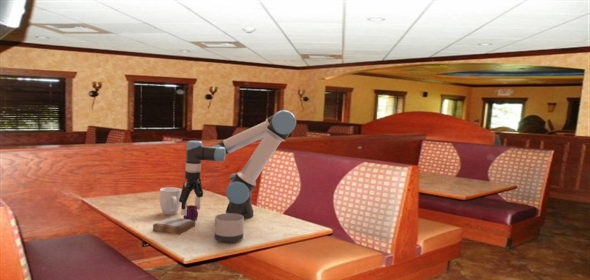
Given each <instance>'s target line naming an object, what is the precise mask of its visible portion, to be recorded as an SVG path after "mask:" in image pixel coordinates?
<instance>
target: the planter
mask: <svg viewBox="0 0 590 280" xmlns="http://www.w3.org/2000/svg"><path fill="white" fill-rule="evenodd" d="M244 224H245V219H244V216H242V215H239V214H232V213H226V212H225V213H219V214H216V215H215V216H214V232H213V233H214V235H213V237H214V239H215V240H217V241H219V242H222V243H226V244H232V243H236V242H239V241H241V240H243V238H244Z"/></svg>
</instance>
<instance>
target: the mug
mask: <svg viewBox="0 0 590 280" xmlns="http://www.w3.org/2000/svg"><path fill="white" fill-rule="evenodd" d="M159 189H160V190H159V205H160V209H161V211H162V213H163V214H165V215H169V216H170V215H176V214H177V213H178V211H179V209H180V206H181V202H179V199H180V195H181V192H182V188H179V187H173V186H172V187H170V186H169V187H162V188H159Z"/></svg>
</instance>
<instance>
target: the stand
mask: <svg viewBox="0 0 590 280" xmlns="http://www.w3.org/2000/svg"><path fill="white" fill-rule="evenodd" d="M193 227H194V228H195V227H196V221H193V220H189V219H184V218H180V217H174V216H173V217H172V216H170V217H167V218H165V219H162V220H161V221H158V222H156V223H153V224H152V232H158V233H159V232H160V233H165V234H171V235H178V236H179V235H183V234H184V233H186V232H188V231H190V230H191V228H192V229H193ZM189 229H190V230H189Z"/></svg>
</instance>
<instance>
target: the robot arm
mask: <svg viewBox="0 0 590 280" xmlns="http://www.w3.org/2000/svg"><path fill="white" fill-rule="evenodd" d="M296 126H297V119H296V116H295V114H294V113H293V112H291V111H289V110H287V109H281V110H279V111H277V112H276V113H274V114H273V115H271V116H269V117H268V118H266V119H265V120H264V121H263V122H261V123H259V124H257V125H254V126H252V127H250V128H248V129H245V130H243V131H241V132H238V133H236V134H235V135H232V136H230V137H228V138H225V139H223V140H222V141H219V142H216V143H214V144H213V145H203V142H202V141H200V140H189V141H187V143H186V149H185V151H186V153H185V154H186V156H185V173H184V179H186V181H187V182H186V181H183V183H182V188H181V195H180V199H179V202H180V206H181V208H180V209H181V210H180V215H181V216H184V215H185V216H186V215H187V206H188V200H189V197H190V194H191V192H192V191H193V192H194V193H195V198H194V199H195V200H194V206H197V211H199V210H201V198H203V196H204V191H203V187H202V179H201V171H202V170H201V169H202V161H208V162H209V161H210V162H219V163H220V162H224V161H225V160H226V155H229V154H230V153H233V152H235V151H238V150H239V149H241V148H243V147H246V146H248V145H251V144H253V143H254V142H256V141H257V142H258V141H259V140H261V141H260V142H259V144H258V145H257V146H256V148H255V150H254V151H253V153H252V154H251V156H250V158H249V159H248V160H247V162H246V163H245V165H244V167H243V168H242V169H241V171H238V172H236V173H231V174H230V177H229V180H230V181H229V184H228V185H227V187H226V190H225V196H226V198H227V200H228V204H227V207H226V210H225V213H232V214H239V215H242V216H244V220H245V219H250V218H253V217H254V209H253V204H252V202H251V201H252V192H253V191H254V189H255V187H256V186H257V182H256V180H257V179H258V178H259V176H260V174H261V173H262V171H263V169H264V168H265V167H266V166H267V164H268V162H269V161H270V159H271V157H273V155H274V154H275V152H276V150H277V148H278V147H279V145H280V144H281V142H285V141H286V140H287V139H288V137H289V136H290V134H291V133H292V132H293V131H294V130H295V128H296Z"/></svg>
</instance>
